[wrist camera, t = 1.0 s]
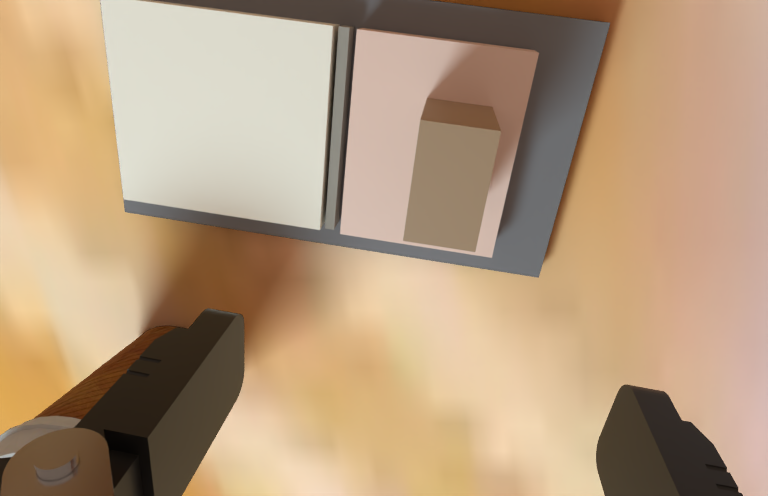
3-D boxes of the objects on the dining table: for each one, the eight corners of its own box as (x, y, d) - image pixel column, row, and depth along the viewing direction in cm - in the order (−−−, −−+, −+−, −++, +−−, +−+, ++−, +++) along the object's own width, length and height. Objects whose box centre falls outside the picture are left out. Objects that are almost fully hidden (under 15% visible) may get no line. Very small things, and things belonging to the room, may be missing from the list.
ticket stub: (534, 50, 24) (560, 65, 18) (490, 245, 28) (499, 309, 22) (362, 27, 24) (332, 35, 18) (345, 223, 28) (316, 279, 23)
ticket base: (604, 22, 24) (620, 23, 21) (536, 269, 29) (542, 291, 27) (107, -41, 25) (73, -45, 23) (134, 206, 31) (109, 221, 29)
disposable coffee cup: (168, 279, 33) (28, 412, 22) (272, 377, 35) (192, 540, 25) (87, 349, 36) (-68, 494, 26) (187, 434, 39) (84, 600, 28)
